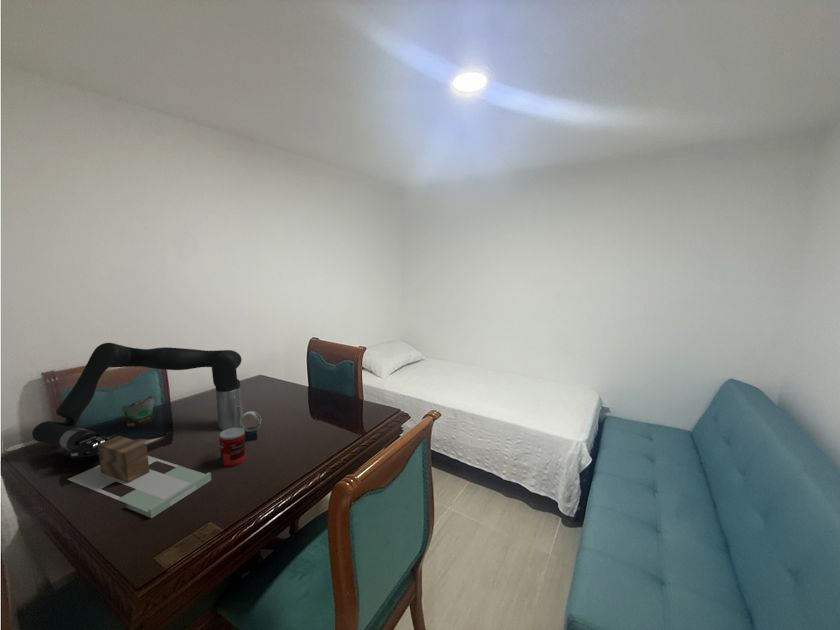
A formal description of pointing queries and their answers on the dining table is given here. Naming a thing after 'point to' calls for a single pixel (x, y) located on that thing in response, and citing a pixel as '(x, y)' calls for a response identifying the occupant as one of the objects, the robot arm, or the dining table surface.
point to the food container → (139, 412)
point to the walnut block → (123, 458)
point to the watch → (252, 432)
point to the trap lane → (148, 487)
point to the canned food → (232, 446)
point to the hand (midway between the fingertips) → (110, 450)
